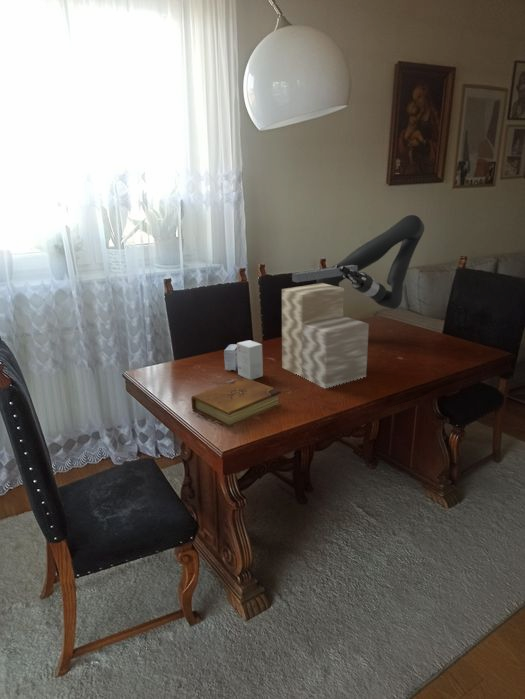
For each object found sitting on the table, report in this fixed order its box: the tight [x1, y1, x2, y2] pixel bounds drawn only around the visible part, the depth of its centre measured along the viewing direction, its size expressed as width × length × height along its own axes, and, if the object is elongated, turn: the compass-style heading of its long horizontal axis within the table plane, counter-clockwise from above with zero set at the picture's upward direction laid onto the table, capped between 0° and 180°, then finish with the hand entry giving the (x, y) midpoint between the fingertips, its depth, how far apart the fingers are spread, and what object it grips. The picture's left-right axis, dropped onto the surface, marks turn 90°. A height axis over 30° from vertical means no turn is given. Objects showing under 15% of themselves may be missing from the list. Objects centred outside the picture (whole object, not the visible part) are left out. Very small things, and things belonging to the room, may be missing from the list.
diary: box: [191, 377, 282, 429], centre depth 167 cm, size 23×19×6 cm
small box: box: [236, 339, 264, 380], centre depth 193 cm, size 8×6×13 cm
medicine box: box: [223, 343, 238, 372], centre depth 203 cm, size 8×4×9 cm, turn 168°
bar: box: [291, 265, 358, 283], centre depth 194 cm, size 3×30×3 cm, turn 123°
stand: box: [281, 283, 370, 389], centre depth 192 cm, size 27×20×32 cm
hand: (338, 267), depth 197 cm, fingers closed on bar, 3 cm apart
